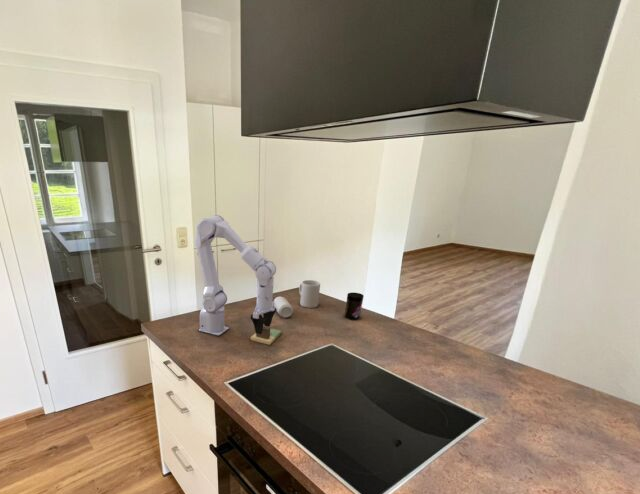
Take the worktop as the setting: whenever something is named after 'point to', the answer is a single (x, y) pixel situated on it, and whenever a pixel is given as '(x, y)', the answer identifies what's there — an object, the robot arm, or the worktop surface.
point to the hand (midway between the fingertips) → (262, 329)
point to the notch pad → (275, 333)
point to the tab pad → (263, 336)
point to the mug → (309, 293)
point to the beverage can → (283, 307)
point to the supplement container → (353, 306)
